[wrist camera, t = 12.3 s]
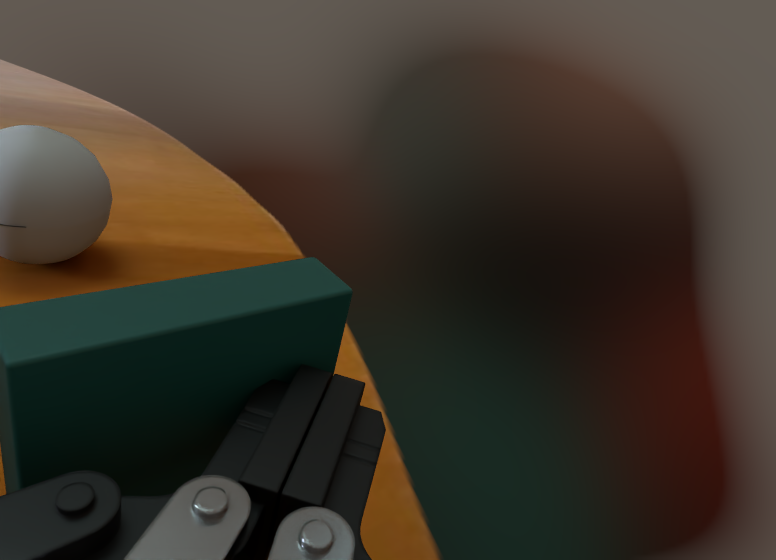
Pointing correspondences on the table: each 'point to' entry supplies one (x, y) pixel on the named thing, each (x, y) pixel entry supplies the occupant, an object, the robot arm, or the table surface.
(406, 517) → the table surface
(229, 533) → the robot arm
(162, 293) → the valve lever
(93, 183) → the white sphere
